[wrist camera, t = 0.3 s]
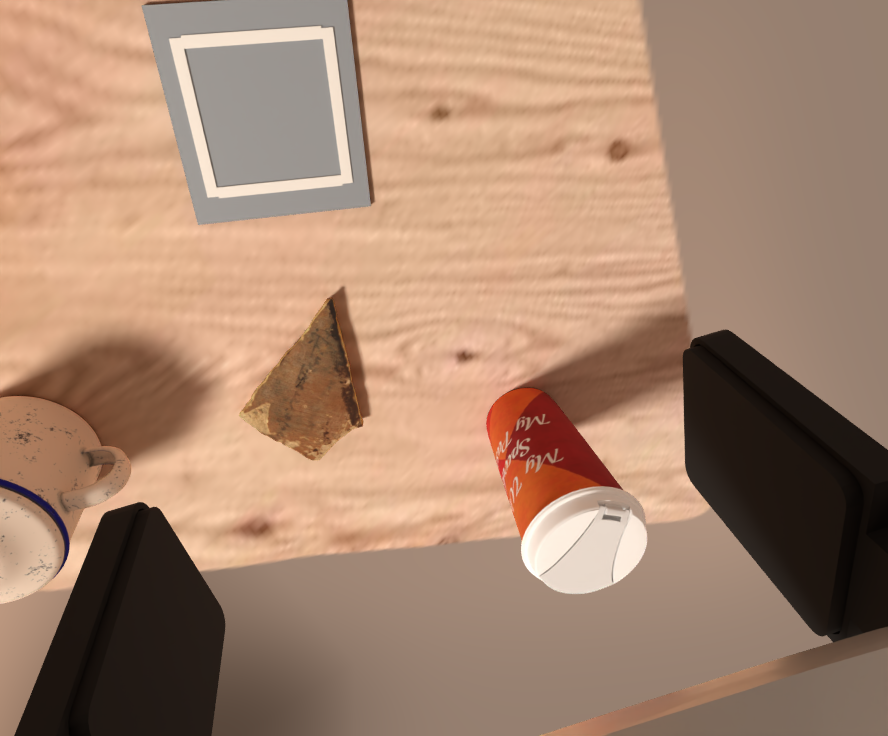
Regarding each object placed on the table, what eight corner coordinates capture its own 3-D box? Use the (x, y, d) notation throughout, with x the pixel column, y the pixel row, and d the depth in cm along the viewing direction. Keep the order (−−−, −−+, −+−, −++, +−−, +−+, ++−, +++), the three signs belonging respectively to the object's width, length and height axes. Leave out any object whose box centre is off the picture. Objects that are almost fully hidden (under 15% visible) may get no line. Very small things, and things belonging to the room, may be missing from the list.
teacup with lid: (-3, 515, 44) (-93, 665, 34) (-79, 409, 39) (-210, 546, 29) (172, 473, 45) (134, 606, 35) (118, 364, 40) (56, 482, 30)
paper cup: (493, 365, 45) (561, 493, 33) (585, 385, 48) (678, 511, 36) (457, 452, 49) (507, 597, 37) (545, 466, 51) (618, 607, 39)
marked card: (142, 5, 31) (141, 5, 31) (345, -8, 33) (346, -8, 32) (198, 223, 37) (197, 225, 36) (370, 205, 38) (371, 206, 38)
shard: (330, 288, 41) (331, 299, 39) (419, 350, 44) (424, 362, 43) (235, 406, 44) (232, 420, 42) (326, 455, 47) (327, 470, 46)
